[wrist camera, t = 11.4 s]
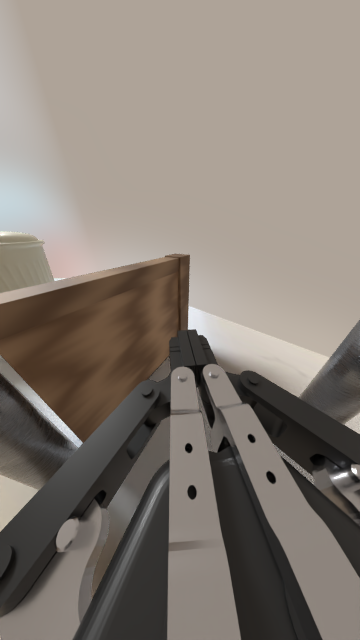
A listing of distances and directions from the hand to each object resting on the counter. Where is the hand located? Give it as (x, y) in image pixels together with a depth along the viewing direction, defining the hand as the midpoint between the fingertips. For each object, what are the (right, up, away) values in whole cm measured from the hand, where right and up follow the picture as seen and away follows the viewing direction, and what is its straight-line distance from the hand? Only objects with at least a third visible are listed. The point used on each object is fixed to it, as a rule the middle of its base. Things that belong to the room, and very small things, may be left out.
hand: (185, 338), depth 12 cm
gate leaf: (-5, -6, +9) cm, 12 cm away
